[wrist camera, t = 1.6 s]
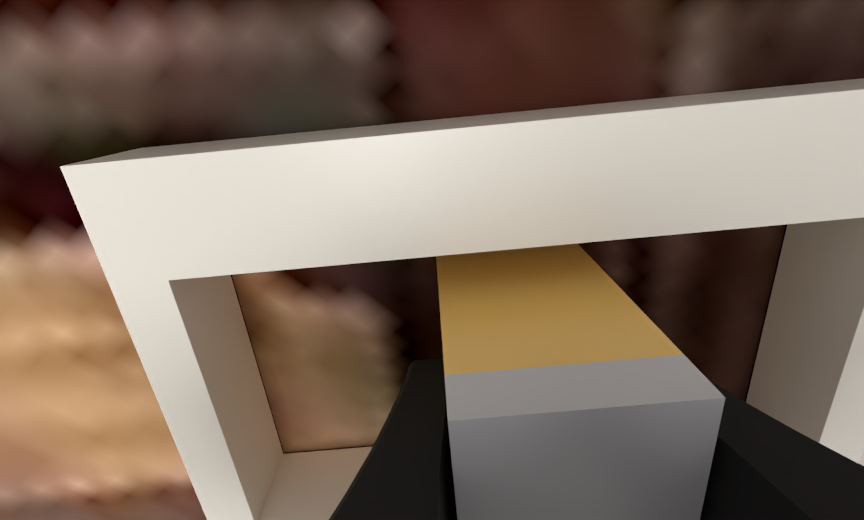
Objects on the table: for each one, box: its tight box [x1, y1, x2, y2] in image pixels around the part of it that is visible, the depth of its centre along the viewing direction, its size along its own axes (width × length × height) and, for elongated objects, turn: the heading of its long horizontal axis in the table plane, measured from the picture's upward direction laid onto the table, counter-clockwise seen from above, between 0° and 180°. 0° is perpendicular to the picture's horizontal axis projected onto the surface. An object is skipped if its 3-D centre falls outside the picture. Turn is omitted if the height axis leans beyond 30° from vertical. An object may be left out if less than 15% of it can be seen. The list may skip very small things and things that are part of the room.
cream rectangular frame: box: [60, 78, 864, 520], centre depth 9 cm, size 14×10×2 cm
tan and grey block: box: [436, 243, 725, 520], centre depth 8 cm, size 3×4×5 cm, turn 5°
